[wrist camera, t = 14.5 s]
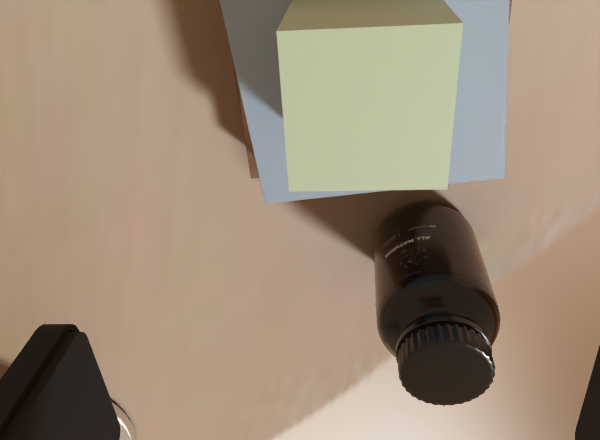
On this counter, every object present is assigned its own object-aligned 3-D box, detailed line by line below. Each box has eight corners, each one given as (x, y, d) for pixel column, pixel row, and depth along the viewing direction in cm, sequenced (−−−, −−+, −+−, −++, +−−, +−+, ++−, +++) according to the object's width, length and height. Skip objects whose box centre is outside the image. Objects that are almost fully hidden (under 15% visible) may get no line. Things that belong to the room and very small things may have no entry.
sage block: (427, 128, 25) (447, 189, 20) (300, 132, 26) (288, 191, 21) (437, -8, 22) (463, 23, 17) (292, -1, 23) (276, 31, 18)
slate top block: (486, 145, 30) (504, 177, 26) (274, 170, 32) (265, 203, 28) (489, -105, 24) (512, -105, 20) (227, -57, 26) (208, -49, 22)
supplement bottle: (400, 184, 35) (420, 304, 25) (492, 220, 36) (548, 351, 26) (356, 262, 39) (358, 395, 28) (441, 293, 39) (473, 434, 29)
